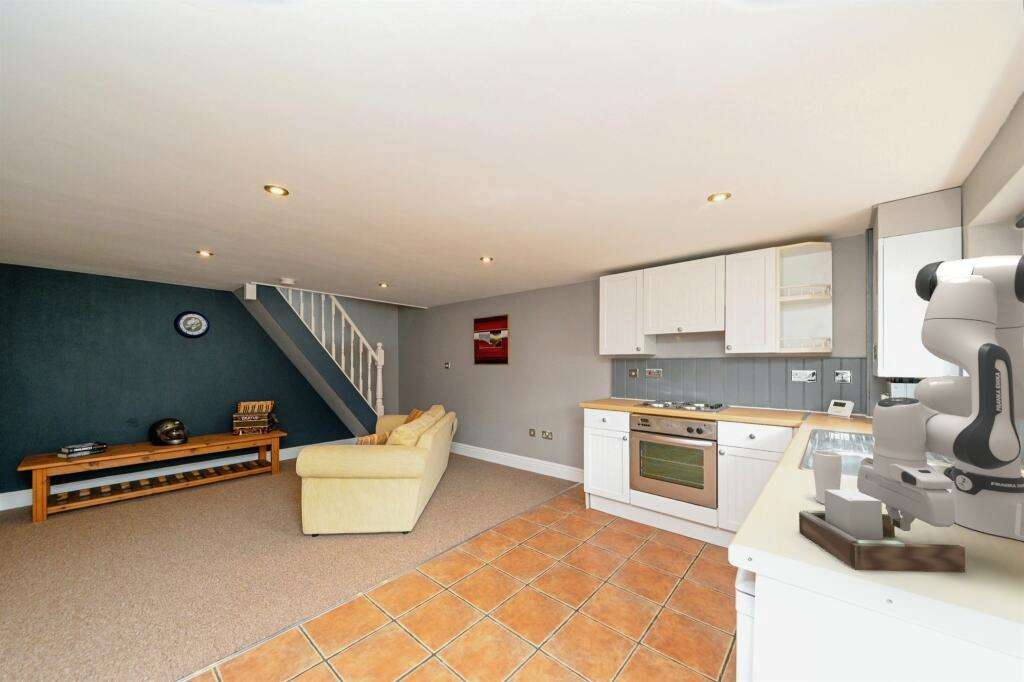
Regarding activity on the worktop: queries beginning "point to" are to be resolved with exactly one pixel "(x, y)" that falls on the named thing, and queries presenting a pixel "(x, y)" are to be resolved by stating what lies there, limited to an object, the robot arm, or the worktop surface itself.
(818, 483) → the drinking glass
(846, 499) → the supplement box
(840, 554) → the wooden serving tray
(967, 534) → the worktop surface
